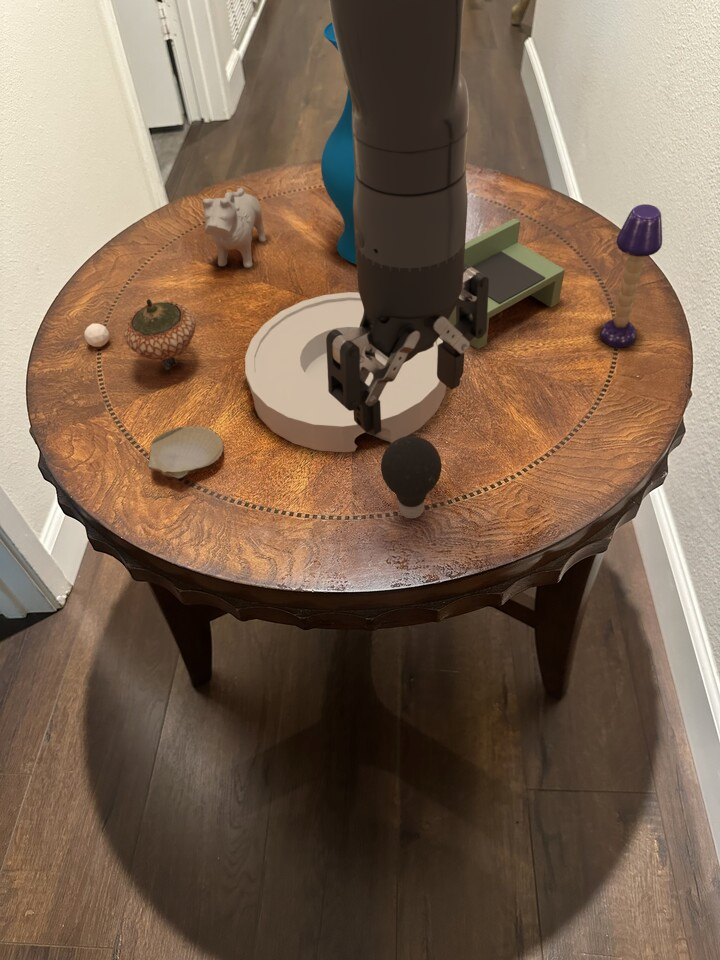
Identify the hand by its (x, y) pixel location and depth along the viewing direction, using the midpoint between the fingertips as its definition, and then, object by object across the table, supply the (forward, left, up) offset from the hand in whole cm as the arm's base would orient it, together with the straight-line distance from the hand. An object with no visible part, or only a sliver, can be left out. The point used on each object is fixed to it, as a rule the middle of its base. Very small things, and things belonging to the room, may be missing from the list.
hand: (410, 405), depth 63 cm
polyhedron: (+13, -46, -15) cm, 50 cm away
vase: (-26, -40, -15) cm, 50 cm away
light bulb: (0, 0, -15) cm, 15 cm away
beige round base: (-7, -20, -15) cm, 26 cm away
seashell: (+14, -21, -15) cm, 29 cm away
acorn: (+8, -36, -15) cm, 40 cm away
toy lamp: (-36, -5, -15) cm, 39 cm away
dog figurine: (-11, -51, -15) cm, 54 cm away
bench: (-29, -18, -15) cm, 38 cm away
